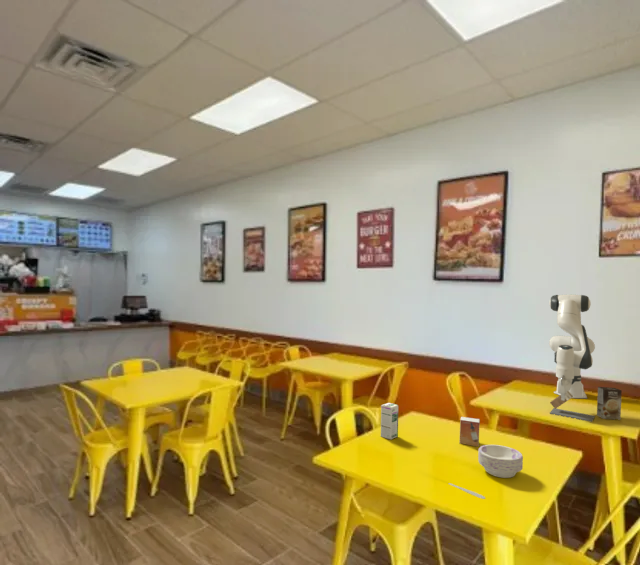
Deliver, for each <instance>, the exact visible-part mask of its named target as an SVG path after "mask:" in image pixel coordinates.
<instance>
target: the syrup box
mask: <svg viewBox="0 0 640 565" xmlns="http://www.w3.org/2000/svg"><path fill="white" fill-rule="evenodd" d="M380 408H381V409H380V437H382V438H385V439H387V440H393V439H394V438H398V436H399V405H398V404H395V403H391V402H387V403H384V404H381V405H380Z"/></svg>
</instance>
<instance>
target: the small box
mask: <svg viewBox="0 0 640 565" xmlns="http://www.w3.org/2000/svg"><path fill="white" fill-rule="evenodd" d="M480 421H481V420H480V418H473V417H465V416H461V417H460V422H459V444H462V445H468V446H474V447H479V446H480V444H479V442H480Z"/></svg>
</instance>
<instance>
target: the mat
mask: <svg viewBox="0 0 640 565" xmlns="http://www.w3.org/2000/svg"><path fill="white" fill-rule="evenodd" d="M549 414H550V415H554V414H555V415H554V416H559V415H561V416H560V417H564V416H566V418H569V417H571V418H570V419H574V418H576V419H575V420H580V419H581V421H586V422H590V423H592V422H593V420H594V419H595V417H596V416H595V415H592V414H587V413H584V412H583V413H581V412H577V411H570V410H565V409H562V408H561V409H560V408H556V409H555V408H554V407H553V408H552V410H551V411H550V412H549Z"/></svg>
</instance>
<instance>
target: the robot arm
mask: <svg viewBox="0 0 640 565" xmlns="http://www.w3.org/2000/svg"><path fill="white" fill-rule="evenodd" d="M548 303H549V307H550V309H551V310H552V311H554V312H557V313H556V314H557V315H556V322H557V325H558V327H559V328H560V329H561V330H563V331H564V332H565V333H567V334H569V335H570V336H569V335H553V336H552V337H550V339H549V343H548V344H549V348H550V349H551V350H552V351H554V354H553V355H554V361H553V362H554V363H555V364H556V366H555V378H556V377H557V378H558V379H557V381H556V382H557V383H556V390H555V391H553V393H554V394H556V395H558V396H560V395H561V400H563V401H565V394H566V393H567V391H569V392H570V393H571V394H572V395H573V397H572V398H571V399H588V397H587V396H588V395H587V394H586V392H585V389H584V384H583V383H582V375H581V374H582V373H581V372H582V371H581V370H585V371H586V370H588V369H589V368H591V367H592V366H593V356H592V353H593V352H595V349H596V345H595V342H594V341H593V339H591V338H590V337H588V334H587V331H586V328H585V325H583V324H582V316H581V315H582V313H585V312H587V311H590V310H589V309H590V307H591V300H590V298H589V296H587V295H584V294H581V295H580V294H559V295H558V294H555V295H552V296H551V297H550V299H549V301H548Z"/></svg>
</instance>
